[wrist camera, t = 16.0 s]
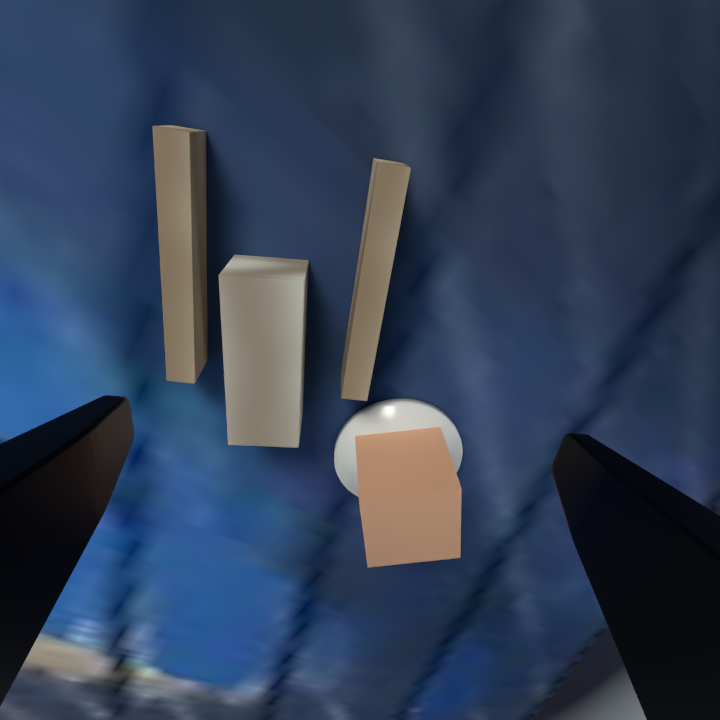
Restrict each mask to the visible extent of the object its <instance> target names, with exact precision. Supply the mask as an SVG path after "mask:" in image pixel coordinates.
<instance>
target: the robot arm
mask: <svg viewBox="0 0 720 720" xmlns="http://www.w3.org/2000/svg"><path fill="white" fill-rule="evenodd" d="M133 438H134V427H133V421H132V414H131V407H130V402H129V400H128V399H127V398H126V397H121V396H109V395H106V396H102V397H100V398H98V399H96V400H94V401H91V402H89V403H87V404H85V405H83V406H81V407H79V408H76V409H74V410H72V411H70V412H68V413H66V414H64V415H61V416H59V417H57V418H55V419H53V420H51V421H49V422H46V423H44V424H42V425H40V426H38V427H36V428H34V429H31V430H29V431H27V432H25V433H23V434H21V435H19V436H16V437H14V438H12V439H10V440H8V441H6V442H4V443H1V444H0V706H1V704H2V702H3V700H4V698H5V696H6V695H7V693H8V691H9V689H10V687H11V685H12V683H13V682H14V680H15V678H16V676H17V674H18V672H19V670H20V669H21V667H22V665H23V663H24V661H25V659H26V657H27V656H28V654H29V652H30V650H31V648H32V646H33V644H34V642H35V641H36V639H37V637H38V635H39V633H40V631H41V629H42V628H43V626H44V624H45V622H46V620H47V618H48V616H49V615H50V613H51V611H52V609H53V607H54V605H55V603H56V602H57V600H58V598H59V596H60V594H61V592H62V590H63V588H64V587H65V585H66V583H67V581H68V579H69V577H70V575H71V574H72V572H73V570H74V568H75V566H76V564H77V562H78V561H79V559H80V557H81V555H82V553H83V551H84V549H85V548H86V546H87V544H88V542H89V540H90V538H91V536H92V535H93V533H94V531H95V529H96V527H97V525H98V523H99V521H100V519H101V518H102V516H103V514H104V512H105V510H106V507H107V505H108V503H109V500H110V498H111V495H112V493H113V490H114V488H115V485H116V483H117V480H118V478H119V475H120V472H121V470H122V467H123V465H124V462H125V460H126V457H127V455H128V452H129V450H130V447H131V445H132V442H133ZM552 472H553V476H554V480H555V483H556V487H557V490H558V493H559V497H560V500H561V504H562V507H563V510H564V514H565V517H566V520H567V524H568V527H569V530H570V533H571V536H572V539H573V542H574V544H575V547H576V549H577V552H578V554H579V557H580V559H581V561H582V564H583V566H584V569H585V571H586V574H587V576H588V578H589V581H590V583H591V586H592V588H593V591H594V593H595V595H596V598H597V600H598V603H599V605H600V607H601V610H602V612H603V615H604V617H605V620H606V622H607V624H608V627H609V629H610V632H611V634H612V636H613V639H614V641H615V643H616V646H617V648H618V651H619V653H620V656H621V658H622V660H623V663H624V665H625V668H626V670H627V673H628V675H629V677H630V680H631V682H632V685H633V687H634V690H635V692H636V694H637V697H638V699H639V702H640V704H641V707H642V709H643V711H644V714H645V716H646V718H647V720H720V516H719V515H718V514H716V513H714V512H713V511H711V510H709V509H708V508H706V507H705V506H703V505H701V504H700V503H698V502H696V501H695V500H693V499H692V498H690V497H688V496H687V495H685V494H683V493H682V492H680V491H678V490H677V489H675V488H674V487H672V486H670V485H669V484H667V483H665V482H664V481H662V480H661V479H659V478H657V477H656V476H654V475H652V474H651V473H649V472H648V471H646V470H644V469H643V468H641V467H639V466H638V465H636V464H635V463H633V462H631V461H630V460H628V459H626V458H625V457H623V456H621V455H620V454H618V453H617V452H615V451H613V450H612V449H610V448H608V447H607V446H605V445H604V444H602V443H600V442H599V441H597V440H595V439H594V438H592V437H591V436H589V435H586V434H578V433H568V434H566V435H565V436H564V437H563V439H562V442H561V444H560V446H559V449H558V451H557V453H556V456H555V458H554V460H553V464H552Z"/></svg>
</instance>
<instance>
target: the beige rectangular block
mask: <svg viewBox="0 0 720 720" xmlns="http://www.w3.org/2000/svg"><path fill="white" fill-rule="evenodd" d="M308 264H309V260H298V259H285V258H272V257H259V256H246V255H234V256H233V257H232V259H231V260H230V261H229V262H228V264H227V265H226V266H225V268H224V269H223V270H222V271H221V273H220V274H219V292H220V310H221V327H222V345H223V362H224V380H225V397H226V415H227V432H228V445H248V446H271V447H294V448H299V440H300V431H301V423H302V414H303V395H304V369H305V343H306V316H307V290H308Z"/></svg>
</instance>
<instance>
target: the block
mask: <svg viewBox="0 0 720 720" xmlns="http://www.w3.org/2000/svg"><path fill="white" fill-rule="evenodd" d="M355 443H356V460H357V477H358V493H359V504H360V512H361V520H362V527H363V535H364V543H365V550H366V558H367V565H368V567H377V566H387V565H396V564H406V563H416V562H425V561H435V560H444V559H454V558H460V552H461V490H462V489H461V486H460V483H459V480H458V477H457V474H456V471H455V468H454V465H453V462H452V459H451V456H450V453H449V451H448V448H447V445H446V442H445V439H444V436H443V433H442V430H441V427H435V428H426V429H416V430H407V431H397V432H387V433H378V434H368V435H359V436H355Z"/></svg>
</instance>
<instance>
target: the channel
mask: <svg viewBox="0 0 720 720" xmlns="http://www.w3.org/2000/svg"><path fill="white" fill-rule="evenodd" d="M153 143H154V161H155V179H156V197H157V215H158V233H159V251H160V269H161V287H162V305H163V322H164V340H165V358H166V376H167V381H175V382H185V383H195V382H196V381H197V379H198V377H199V375H200V373H201V371H202V369H203V368H204V366H205V364H206V362H207V360H208V351H207V206H206V131H204V130H198V129H192V128H186V127H180V126H174V125H173V126H153ZM410 170H411V168H410V167H409V166H407V165H405V164H404V163H400V162H394V161H388V160H382V159H376V158H373V164H372V171H371V178H370V184H369V191H368V197H367V204H366V211H365V217H364V224H363V231H362V237H361V244H360V250H359V257H358V264H357V270H356V277H355V284H354V290H353V297H352V303H351V310H350V317H349V323H348V330H347V337H346V343H345V350H344V356H343V363H342V370H341V398H342V399H352V400H362V401H367V399H368V393H369V388H370V383H371V378H372V372H373V367H374V362H375V356H376V351H377V346H378V340H379V335H380V330H381V324H382V319H383V314H384V308H385V303H386V298H387V292H388V287H389V282H390V276H391V271H392V266H393V261H394V255H395V250H396V245H397V239H398V234H399V229H400V223H401V218H402V213H403V207H404V202H405V197H406V191H407V186H408V181H409V175H410Z"/></svg>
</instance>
